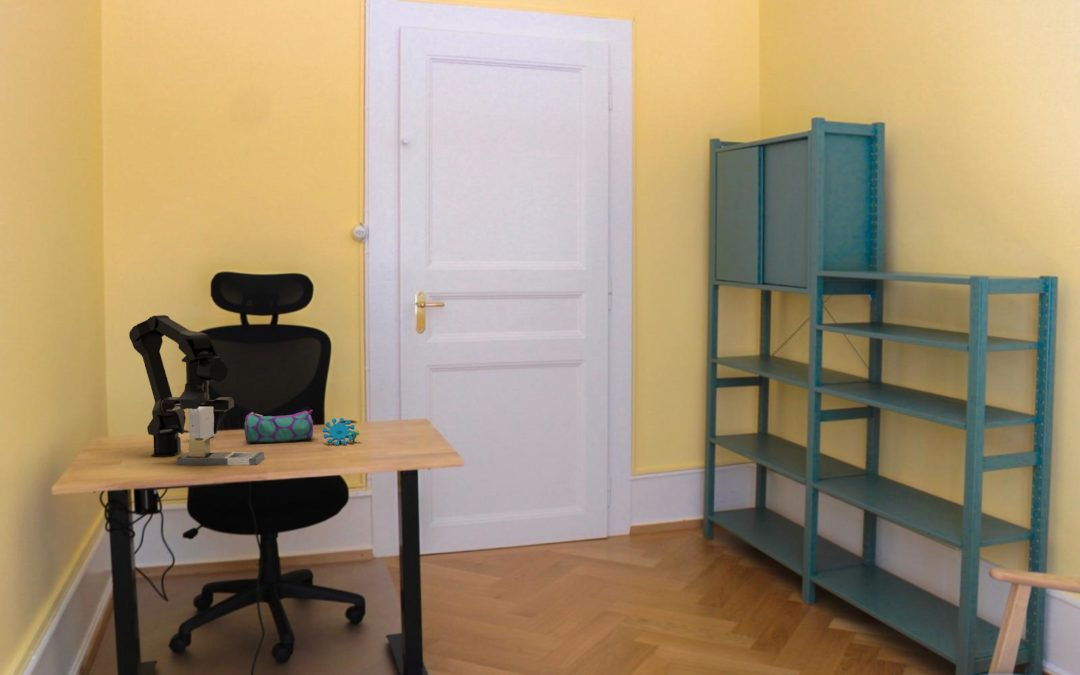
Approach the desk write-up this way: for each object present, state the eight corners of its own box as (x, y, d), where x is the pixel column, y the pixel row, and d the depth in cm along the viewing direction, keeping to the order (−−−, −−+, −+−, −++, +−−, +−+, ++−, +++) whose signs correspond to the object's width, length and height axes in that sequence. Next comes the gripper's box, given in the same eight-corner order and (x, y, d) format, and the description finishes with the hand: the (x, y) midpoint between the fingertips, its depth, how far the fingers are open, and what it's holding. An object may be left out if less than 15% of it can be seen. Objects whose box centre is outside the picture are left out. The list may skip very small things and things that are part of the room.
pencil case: (244, 446, 292) (243, 415, 292) (244, 440, 301) (243, 410, 300) (314, 442, 298) (313, 411, 297) (312, 437, 307) (312, 407, 306)
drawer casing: (176, 464, 266) (176, 457, 266) (187, 458, 274) (186, 451, 274) (256, 464, 267) (256, 457, 266) (264, 458, 275) (264, 451, 274)
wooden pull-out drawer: (189, 463, 268) (188, 439, 268) (194, 460, 273) (193, 436, 272) (205, 463, 268) (204, 439, 268) (210, 460, 273) (209, 436, 272)
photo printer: (200, 442, 297) (199, 403, 296) (187, 442, 297) (186, 403, 296) (216, 436, 307) (215, 398, 306) (203, 436, 307) (202, 397, 306)
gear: (319, 441, 291) (325, 414, 298) (320, 451, 296) (326, 425, 302) (356, 445, 292) (361, 418, 299) (356, 456, 297) (361, 429, 303)
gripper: (152, 382, 260) (154, 439, 262) (221, 383, 260) (223, 439, 262) (167, 377, 271) (169, 431, 273) (233, 377, 271) (235, 431, 273)
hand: (198, 433), depth 270 cm, fingers open, 9 cm apart
